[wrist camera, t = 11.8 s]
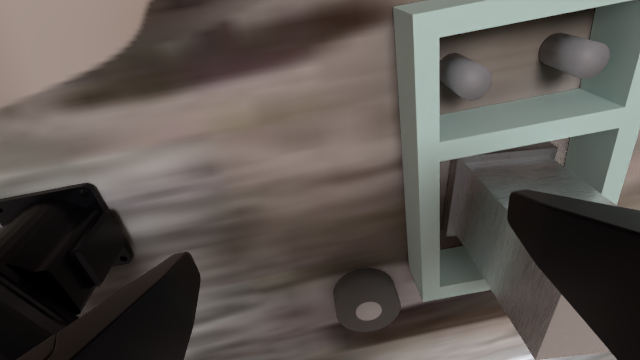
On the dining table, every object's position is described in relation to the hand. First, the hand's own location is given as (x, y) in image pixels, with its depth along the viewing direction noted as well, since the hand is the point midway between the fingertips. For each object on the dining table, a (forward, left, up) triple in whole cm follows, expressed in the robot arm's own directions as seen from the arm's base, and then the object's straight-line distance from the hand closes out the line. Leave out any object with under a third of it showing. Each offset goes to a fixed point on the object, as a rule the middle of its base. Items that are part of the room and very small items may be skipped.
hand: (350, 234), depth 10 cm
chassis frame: (+11, -6, -13) cm, 18 cm away
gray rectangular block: (+11, -9, -13) cm, 19 cm away
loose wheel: (+1, -17, -13) cm, 21 cm away
